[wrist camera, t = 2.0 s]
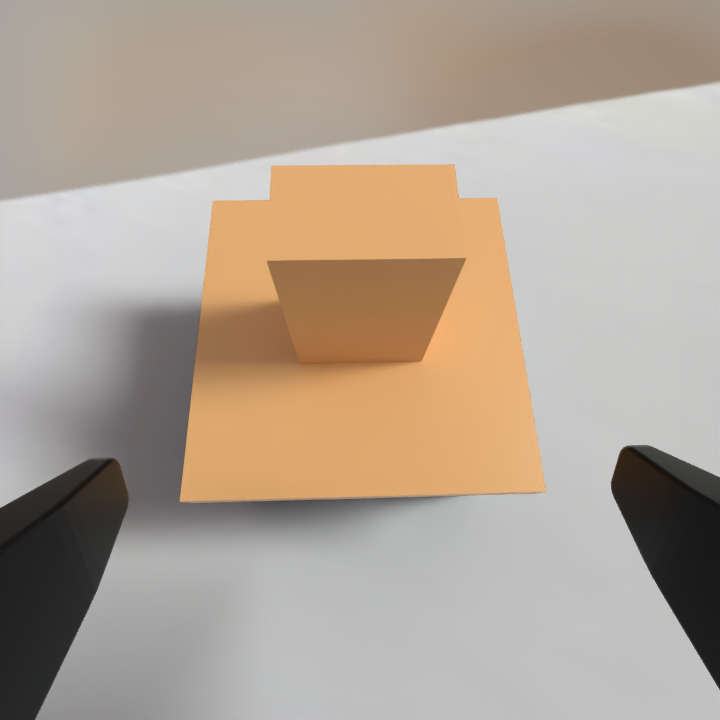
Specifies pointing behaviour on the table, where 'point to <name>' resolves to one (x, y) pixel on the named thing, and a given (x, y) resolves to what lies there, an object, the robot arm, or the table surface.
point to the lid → (358, 344)
